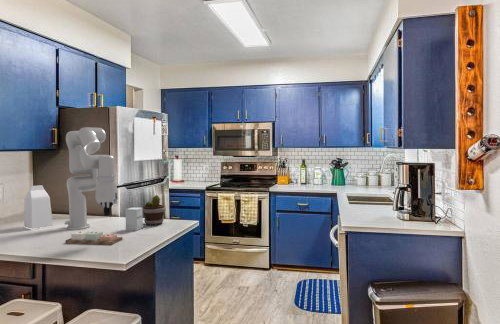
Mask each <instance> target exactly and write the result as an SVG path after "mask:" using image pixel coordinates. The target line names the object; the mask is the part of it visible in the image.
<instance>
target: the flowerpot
mask: <svg viewBox="0 0 500 324" xmlns="http://www.w3.org/2000/svg"><path fill="white" fill-rule="evenodd" d="M150 200H151V201H149V200H148V201H146V202H145V205H143V206H142V207H141V208H142V214H143V217H144V219H143V221H144V223H145V225H146V226H158V225H162V224H163V223H164V220H165V219H164V215H165V214H164V213H165V212H166V206H165V205H164V204H161V200H162V199H161V197H160V196H159V194H157V193H156V194H154V196H153V197H152V198H151V199H150Z"/></svg>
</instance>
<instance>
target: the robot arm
mask: <svg viewBox="0 0 500 324" xmlns="http://www.w3.org/2000/svg"><path fill="white" fill-rule="evenodd" d="M106 134H107V133H106V132H105V130H104V129H103V128H102V127H92V126H91V127H89V126H87V127H86V126H85V127H81V128H80V129H79V130H71V131H68V132H66V135H65V143H66V146H67V148H68V154H69V155H68V163H69V166H68V167H69V172H70V173H71V174H72V175H75V176H71V177H69V178H68V179H67V180H66V188H67V193H68V207H69V208H68V210H69V212H68V213H69V218H68V219H69V220H65V221H64V225H67V226H66V229H67V230H70V231H74V230H75V231H80V230H84V229H89V228H90V224H89V223H88V222H87V221H88V218H87V217H88V215H87V211H88V210H87V198H86V196H85V195H84V194H83V192H93V191H95V201H96V203H97V204H98V205H101V206H102V208H103V213H104V216H105V217H106V216H110V215H111V213H112V210H111V209H112V206H113V205H115V204H116V205H117V204H118V199H119V198H118V197H119V196H118V193H119V192H118V186H117V182H116V181H115V179H116V178H115V157H114V156H113V155H109V154H94V153H96V152H98V151H99V150H100V148H101V144H102V143H104V142H105V141H106V138H107V136H106ZM86 174H87V175H86Z"/></svg>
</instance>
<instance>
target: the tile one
mask: <svg viewBox="0 0 500 324" xmlns="http://www.w3.org/2000/svg"><path fill="white" fill-rule="evenodd" d="M87 233H90V231H89V230H88V231H87V230H76V231H75V232H73V233H71V234H70V236H71V237H70V238H71V239H72V240H83V239H85V234H87Z"/></svg>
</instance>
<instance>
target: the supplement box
mask: <svg viewBox="0 0 500 324" xmlns="http://www.w3.org/2000/svg"><path fill="white" fill-rule="evenodd" d="M142 208H143V207H129V208H125V211H124V212H125V231H131V232H134V231H135V232H136V231H138V230H141V229H143V228H144V227H143V226H144V225H143V221H144V219H143V217H144V215H143V212H142Z"/></svg>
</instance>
